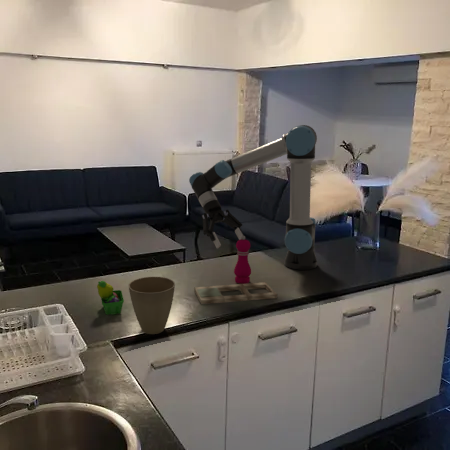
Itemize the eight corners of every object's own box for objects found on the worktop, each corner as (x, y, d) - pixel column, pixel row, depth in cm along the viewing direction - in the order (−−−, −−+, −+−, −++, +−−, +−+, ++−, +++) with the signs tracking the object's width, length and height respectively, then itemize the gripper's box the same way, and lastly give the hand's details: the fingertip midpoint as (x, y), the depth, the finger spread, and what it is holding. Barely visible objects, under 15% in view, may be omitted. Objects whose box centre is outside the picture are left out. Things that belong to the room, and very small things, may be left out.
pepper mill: (231, 279, 215) (231, 234, 210) (246, 277, 218) (247, 232, 213) (238, 285, 209) (239, 238, 204) (253, 283, 211) (255, 237, 207)
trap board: (265, 285, 209) (265, 281, 208) (277, 298, 195) (277, 293, 195) (194, 291, 201) (194, 286, 201) (201, 304, 188) (201, 299, 188)
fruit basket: (124, 314, 178) (123, 284, 175) (98, 317, 176) (97, 286, 173) (121, 302, 189) (120, 274, 186) (97, 304, 186) (96, 276, 184)
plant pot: (132, 320, 173) (131, 276, 170) (176, 320, 174) (175, 276, 170) (127, 340, 159) (125, 292, 155) (174, 339, 160) (174, 292, 156)
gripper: (227, 205, 232) (248, 244, 225) (183, 212, 217) (204, 253, 209) (235, 196, 227) (257, 235, 219) (190, 202, 212) (212, 244, 204)
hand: (231, 244), depth 214 cm, fingers open, 13 cm apart
